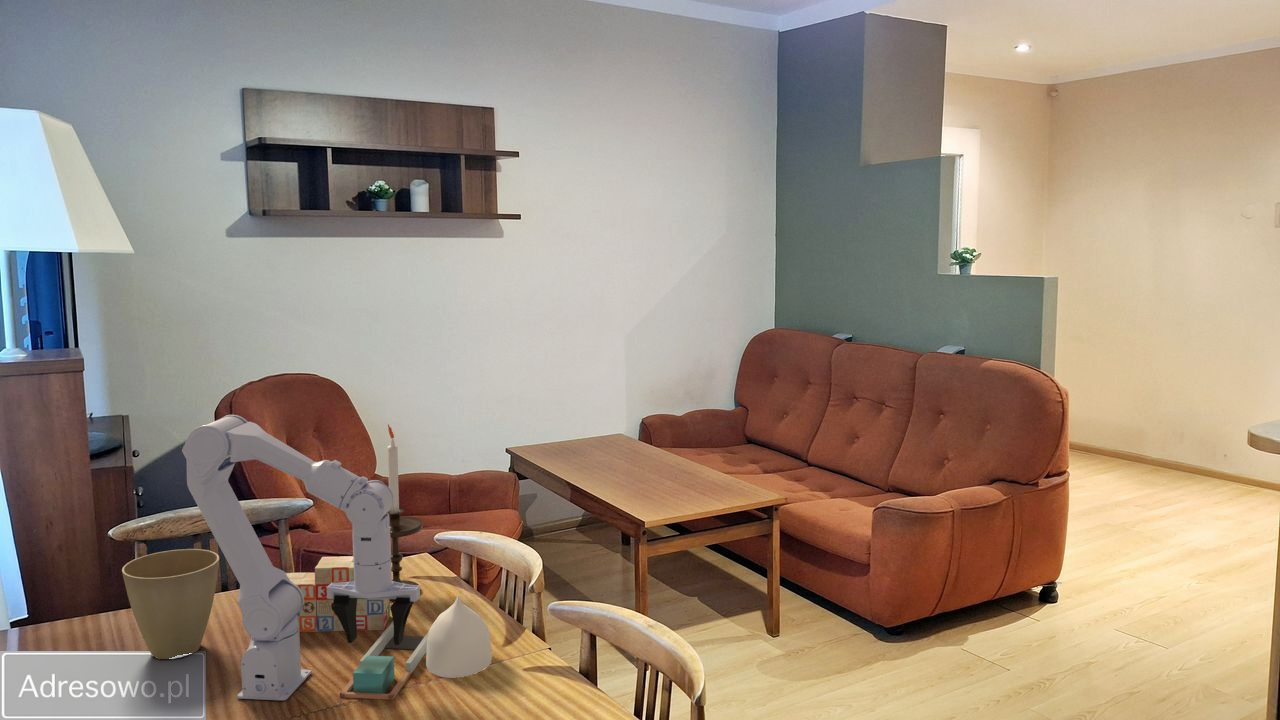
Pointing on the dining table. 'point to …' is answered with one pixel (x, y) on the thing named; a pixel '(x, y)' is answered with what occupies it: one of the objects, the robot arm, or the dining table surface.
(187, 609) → the plant pot
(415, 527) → the candlestick
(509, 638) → the dining table surface
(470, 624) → the teardrop
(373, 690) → the block
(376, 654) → the channel
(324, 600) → the stack of blocks
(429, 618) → the dining table surface
